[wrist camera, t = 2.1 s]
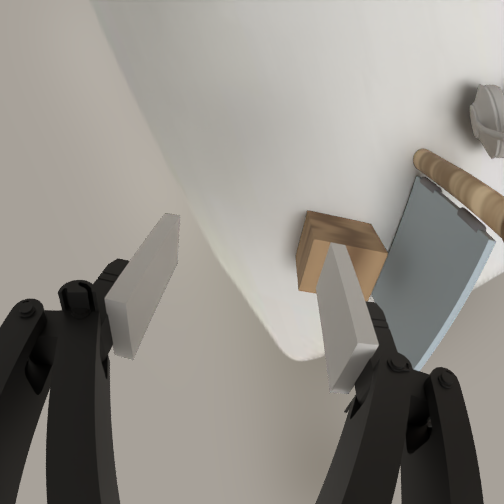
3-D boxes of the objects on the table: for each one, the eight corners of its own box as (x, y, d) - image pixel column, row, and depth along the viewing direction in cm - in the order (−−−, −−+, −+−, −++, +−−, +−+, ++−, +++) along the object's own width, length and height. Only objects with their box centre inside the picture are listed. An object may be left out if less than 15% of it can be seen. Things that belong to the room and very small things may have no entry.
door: (371, 293, 46) (401, 385, 31) (417, 172, 36) (490, 234, 21) (392, 296, 46) (427, 385, 31) (440, 180, 36) (516, 242, 21)
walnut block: (295, 255, 44) (298, 290, 37) (307, 210, 41) (313, 239, 34) (355, 266, 45) (367, 301, 38) (370, 223, 41) (388, 253, 34)
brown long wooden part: (408, 168, 36) (509, 256, 17) (415, 144, 35) (527, 215, 16) (456, 184, 37) (557, 271, 18) (463, 162, 35) (573, 238, 16)
